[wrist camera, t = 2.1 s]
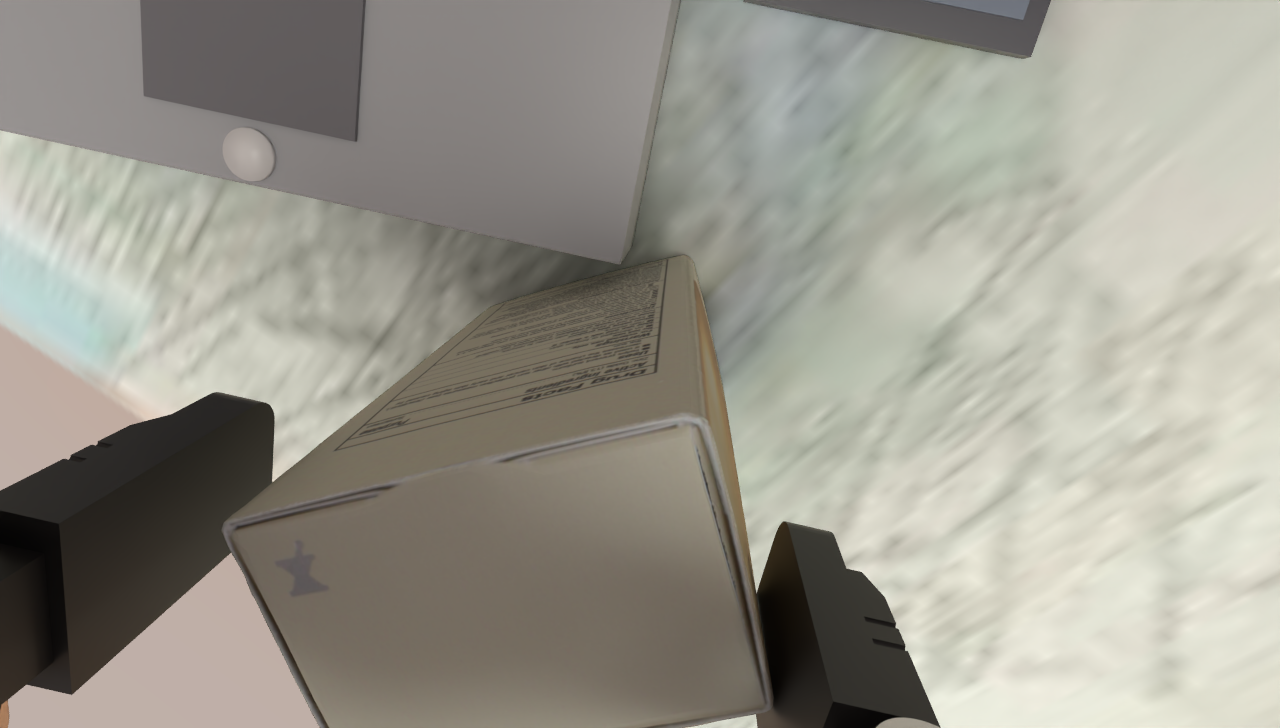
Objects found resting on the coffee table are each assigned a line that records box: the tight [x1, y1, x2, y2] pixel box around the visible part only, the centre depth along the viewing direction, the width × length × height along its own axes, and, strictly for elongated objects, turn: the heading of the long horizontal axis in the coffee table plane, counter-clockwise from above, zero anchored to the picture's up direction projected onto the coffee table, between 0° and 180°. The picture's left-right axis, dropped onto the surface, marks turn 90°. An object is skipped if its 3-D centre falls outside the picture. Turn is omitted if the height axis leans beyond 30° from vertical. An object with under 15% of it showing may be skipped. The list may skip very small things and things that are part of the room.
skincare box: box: [222, 255, 774, 728], centre depth 14 cm, size 6×4×12 cm
